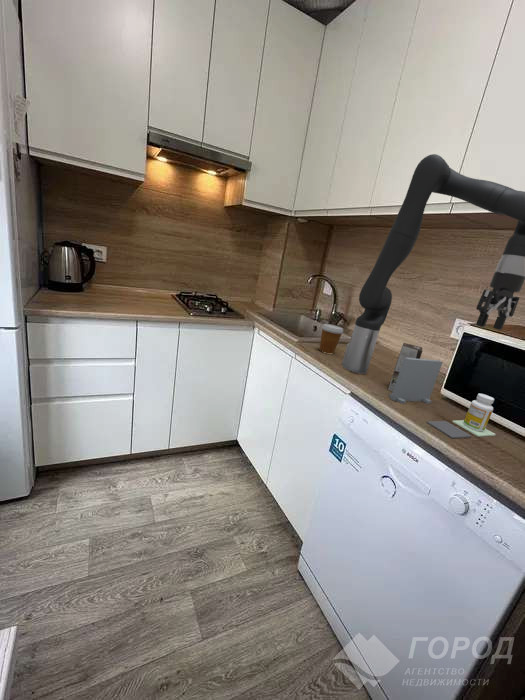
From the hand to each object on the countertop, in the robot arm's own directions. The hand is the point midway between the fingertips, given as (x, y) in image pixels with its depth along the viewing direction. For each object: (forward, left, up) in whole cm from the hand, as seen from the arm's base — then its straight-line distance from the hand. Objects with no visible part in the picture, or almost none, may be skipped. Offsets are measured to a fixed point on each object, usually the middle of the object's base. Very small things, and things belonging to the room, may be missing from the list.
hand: (488, 327), depth 99 cm
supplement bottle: (+10, -6, -28) cm, 30 cm away
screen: (-8, -12, -28) cm, 31 cm away
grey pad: (+10, -17, -28) cm, 34 cm away
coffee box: (-16, -9, -28) cm, 34 cm away
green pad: (+10, -6, -28) cm, 30 cm away
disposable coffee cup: (-55, -13, -28) cm, 63 cm away
